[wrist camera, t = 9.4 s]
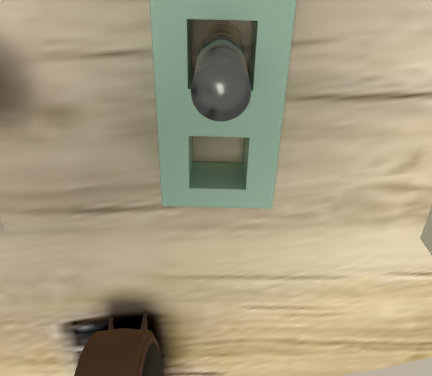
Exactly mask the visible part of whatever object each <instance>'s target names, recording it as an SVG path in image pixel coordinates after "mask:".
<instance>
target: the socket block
mask: <svg viewBox="0 0 432 376" xmlns="http://www.w3.org/2000/svg"><path fill="white" fill-rule="evenodd" d="M295 7H296V0H150V11H151V27H152V44H153V61H154V78H155V95H156V112H157V129H158V145H159V162H160V179H161V196H162V206H188V207H227V208H267V209H272V207H273V198H274V189H275V181H276V172H277V163H278V155H279V146H280V137H281V129H282V120H283V111H284V103H285V94H286V85H287V77H288V68H289V59H290V51H291V42H292V33H293V25H294V16H295ZM191 19H208V20H248V21H253V24H252V39H251V54H250V70H249V73H248V76H249V81H250V86H251V98H250V102H249V104H248V106H247V108H246V109H245V110H244V112H243V113H242V114H240V115H239V116H238V117H236V118H234V119H232V120H229V121H221V122H219V121H213V120H210V119H208V118H206V117H204V116H203V115H202V114H200V113H199V112H198V110H197V109H196V108H195V106H194V104H193V101H192V97H191V87H192V82H193V77H194V73H195V72H193V71H192V21H191ZM193 136H208V137H245V147H244V162H243V163H217V162H193Z"/></svg>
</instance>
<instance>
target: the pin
mask: <svg viewBox="0 0 432 376" xmlns="http://www.w3.org/2000/svg"><path fill="white" fill-rule="evenodd" d="M191 97H192V101H193V104H194V106H195V108H196V109H197V110H198V112H199V113H200V114H202V115H203V116H204V117H206V118H208V119H210V120H213V121H219V122H221V121H229V120H232V119H234V118H236V117H238V116H239V115H240V114H242V113H243V112H244V110H245V109H246V108H247V106H248V104H249V102H250V98H251V86H250V81H249V76H248V71H247V67H246V62H245V57H244V52H243V47H242V42H241V37H240V34H239V32H238V30H237V29H236V28H235V27H234V26H233V25H231V24H229V23H227V22H216V23H213V24H211V25H210V26H209V27H208V28H207V29H206V30H205V32H204V33H203V36H202V40H201V45H200V49H199V54H198V59H197V63H196V68H195V73H194V77H193V82H192V87H191Z"/></svg>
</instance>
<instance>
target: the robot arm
mask: <svg viewBox="0 0 432 376" xmlns="http://www.w3.org/2000/svg"><path fill="white" fill-rule="evenodd" d="M3 231H4V228H3V225H2V221H1V218H0V235H1V234H2V233H3ZM420 239H421V240H422V242H423V243H424V245H425V246H426V247H427V249H428V250H429V252H430V253H431V255H432V207H431V210H430V213H429V216H428V218H427V221H426V224H425V227H424V229H423V232H422V235H421V237H420Z"/></svg>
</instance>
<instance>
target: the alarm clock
mask: <svg viewBox="0 0 432 376" xmlns="http://www.w3.org/2000/svg"><path fill="white" fill-rule="evenodd" d="M142 315H143V319H142V324H141V328H140V329H129V328H120V329H114V326H113V321H114V318H113V317H109V319H108V321H109V328H108V330H106V331H98V332H96V333H94V334H93V335H92V336H91V337H90V339H89V340H88V341H87V343H86V345H85V347H84V349H83V351H82V354H81V356H80V359H79V362H78V365H77V368H76V372H75V375H74V376H163V367H162V361H161V353H160V348H159V344H158V342H157V340H156V338H155V336H154V334H153V332H152V331H150V330H148V324H147V315H148V312H147V311H143V313H142Z"/></svg>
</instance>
